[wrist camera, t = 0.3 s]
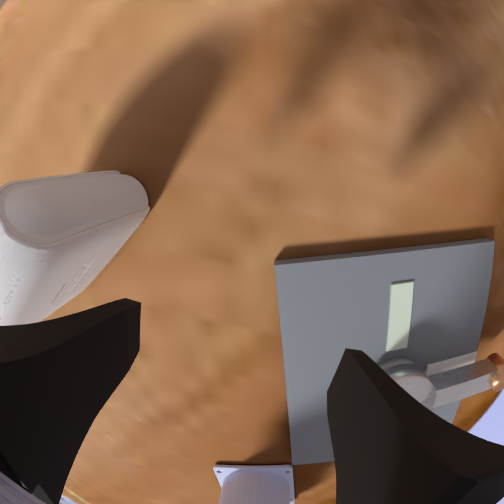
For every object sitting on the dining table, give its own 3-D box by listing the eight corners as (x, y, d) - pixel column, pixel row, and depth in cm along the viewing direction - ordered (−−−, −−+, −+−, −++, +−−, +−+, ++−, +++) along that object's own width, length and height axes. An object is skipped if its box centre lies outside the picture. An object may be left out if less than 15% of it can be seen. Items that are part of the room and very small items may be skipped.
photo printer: (83, 297, 21) (-25, 383, 9) (51, 257, 20) (-66, 319, 8) (164, 207, 18) (17, 265, 7) (123, 160, 18) (-36, 167, 6)
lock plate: (443, 428, 22) (449, 441, 20) (292, 457, 24) (292, 473, 22) (487, 237, 17) (502, 244, 15) (274, 260, 19) (274, 270, 17)
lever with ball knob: (360, 419, 19) (366, 441, 17) (366, 370, 18) (375, 393, 15) (490, 383, 18) (503, 399, 15) (506, 335, 16) (522, 350, 14)
